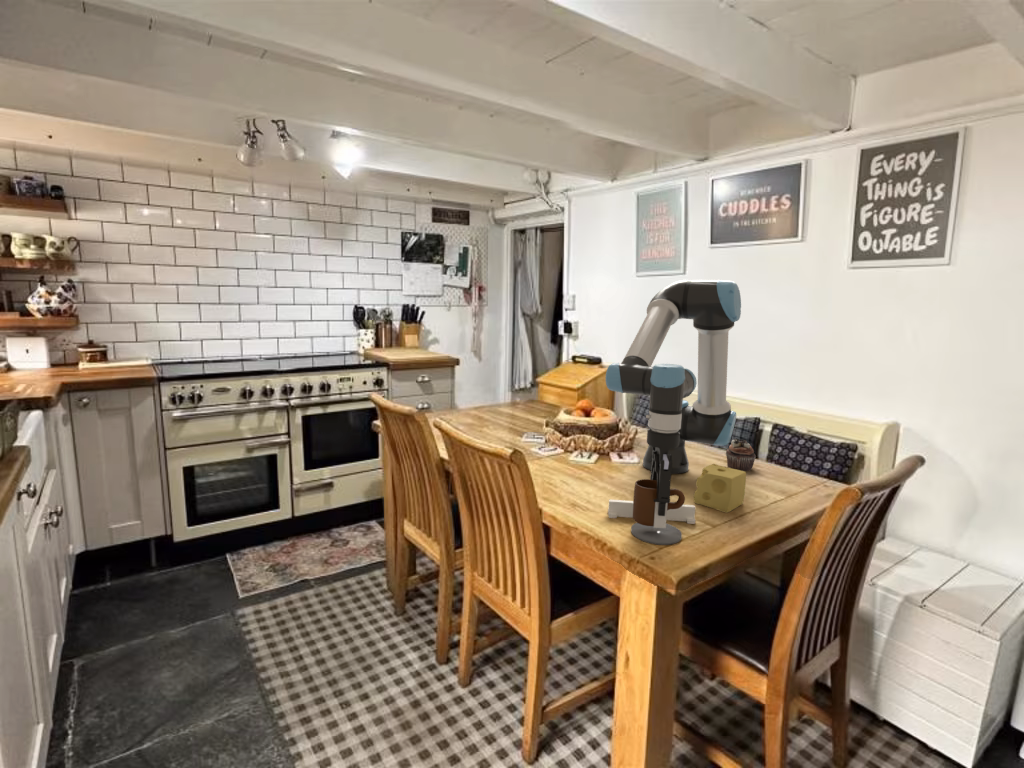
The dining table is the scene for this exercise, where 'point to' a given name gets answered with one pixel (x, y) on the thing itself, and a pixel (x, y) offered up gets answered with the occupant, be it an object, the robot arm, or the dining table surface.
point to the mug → (650, 501)
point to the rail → (681, 514)
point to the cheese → (720, 488)
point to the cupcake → (740, 455)
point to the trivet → (656, 534)
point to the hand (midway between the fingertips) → (657, 520)
